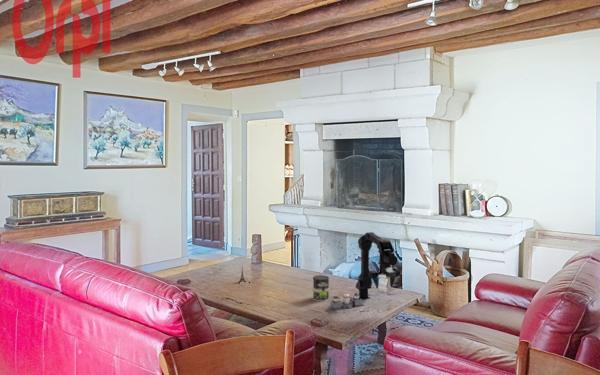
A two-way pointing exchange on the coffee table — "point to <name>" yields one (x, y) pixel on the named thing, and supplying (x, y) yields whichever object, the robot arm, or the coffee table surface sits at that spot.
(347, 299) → the cartridge
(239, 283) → the eiffel tower figurine
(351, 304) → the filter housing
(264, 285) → the coffee table surface
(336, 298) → the plunger
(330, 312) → the rubber pad
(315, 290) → the coffee can
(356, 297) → the plunger
